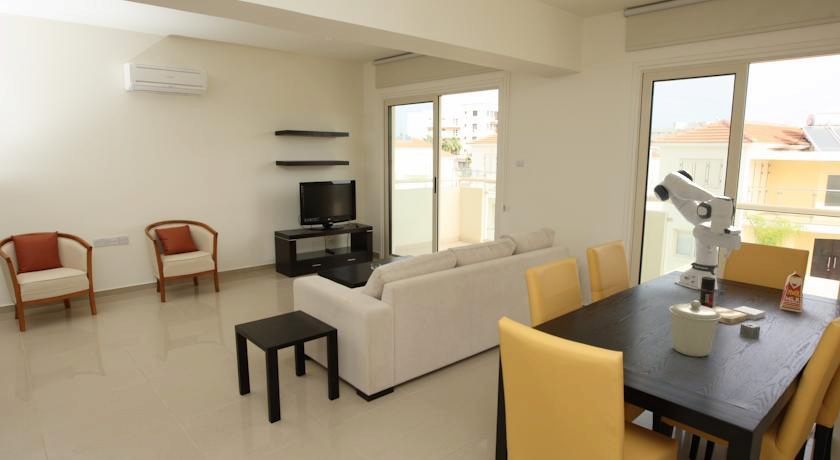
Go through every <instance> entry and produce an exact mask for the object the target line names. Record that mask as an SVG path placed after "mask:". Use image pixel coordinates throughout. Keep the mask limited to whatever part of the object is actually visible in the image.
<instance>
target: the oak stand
mask: <svg viewBox="0 0 840 460" xmlns="http://www.w3.org/2000/svg"><path fill="white" fill-rule="evenodd" d="M711 309H714V310H715V311H717V312H718V313H719V314H721V319H719V321H718V322H722V323H726V324H728V325H734V324H736V323H740V322H744V321H747V320H748V314H744V313H741V312H737V311H733V309H729V308H727V307H726V308H725V307H722V306H718V305H717V306H714V307H712V308H711Z"/></svg>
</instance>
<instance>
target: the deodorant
mask: <svg viewBox="0 0 840 460" xmlns="http://www.w3.org/2000/svg"><path fill="white" fill-rule="evenodd" d="M714 288H715V278H711V277H702V283H701V289H700V293H699V294H700V295H699V302H700V303H701V305H702V306H706V307H709V308H714V307H713V305H714V298H715V297H714V296H715V290H714Z"/></svg>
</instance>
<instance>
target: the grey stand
mask: <svg viewBox="0 0 840 460" xmlns="http://www.w3.org/2000/svg"><path fill="white" fill-rule="evenodd" d="M732 310H733V311H737V312H741V313H744V314H748V318H747V320H748V319H749V320H752V321H756V320H759V319H762V318H765V316H766V311H765V310H760V309H756V308H752V307H750V306H749V307H748V306H745V305H742V306H738V307H735V308H733V309H732Z"/></svg>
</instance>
